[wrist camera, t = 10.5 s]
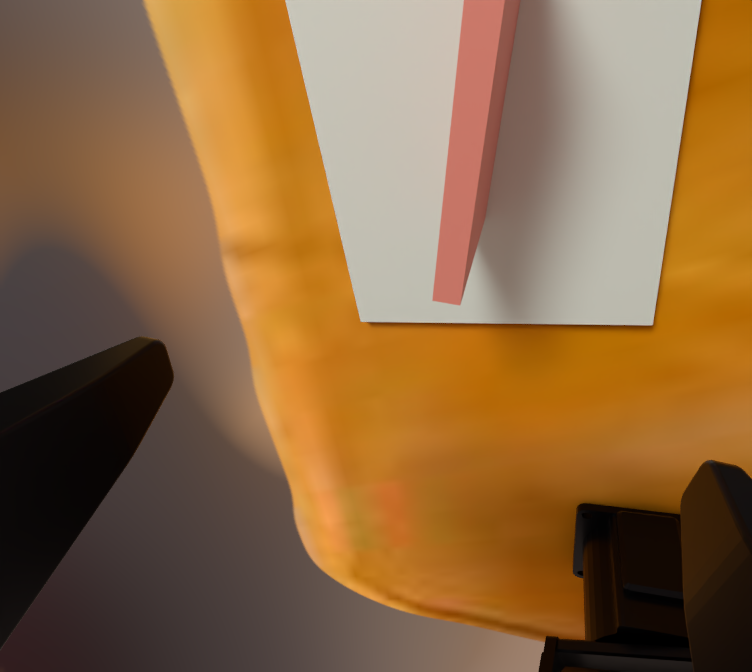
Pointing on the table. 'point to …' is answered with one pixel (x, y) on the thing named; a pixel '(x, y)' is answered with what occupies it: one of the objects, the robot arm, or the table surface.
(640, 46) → the mat
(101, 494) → the robot arm
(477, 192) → the pink rectangular prism
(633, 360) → the table surface
